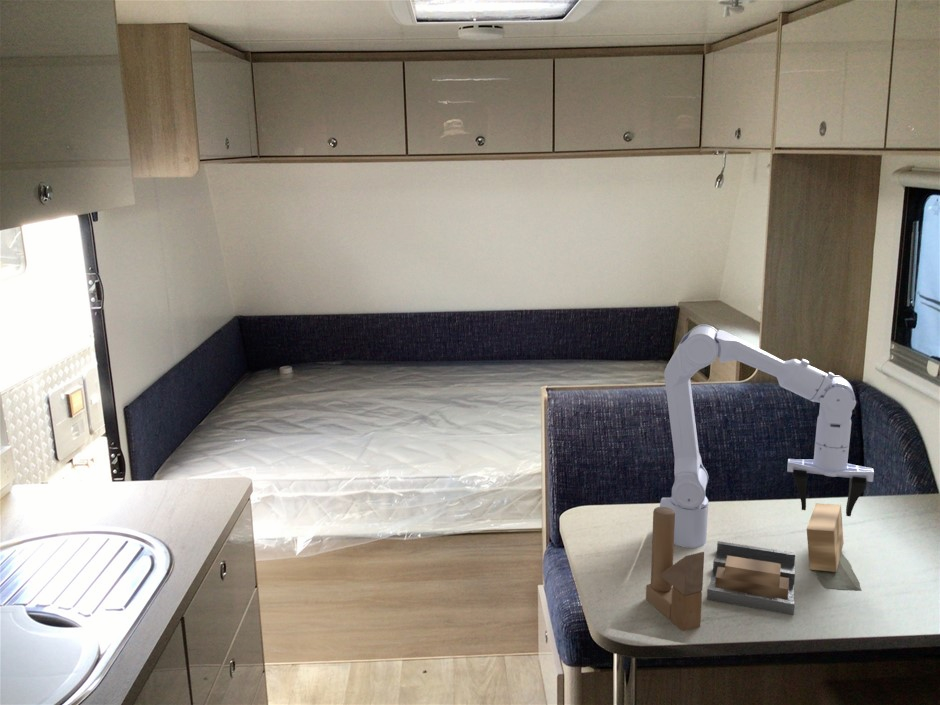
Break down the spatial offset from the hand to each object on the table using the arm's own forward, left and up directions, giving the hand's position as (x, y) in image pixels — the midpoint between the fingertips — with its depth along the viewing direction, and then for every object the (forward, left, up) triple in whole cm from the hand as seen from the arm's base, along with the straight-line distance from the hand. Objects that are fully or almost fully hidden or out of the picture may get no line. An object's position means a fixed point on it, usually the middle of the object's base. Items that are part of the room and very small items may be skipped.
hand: (825, 511), depth 149 cm
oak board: (+1, 0, -9) cm, 9 cm away
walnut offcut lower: (-12, -17, -10) cm, 23 cm away
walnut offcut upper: (-12, -17, -7) cm, 22 cm away
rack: (-12, -13, -10) cm, 21 cm away
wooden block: (-24, -29, -11) cm, 39 cm away
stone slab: (+1, -1, -11) cm, 11 cm away
